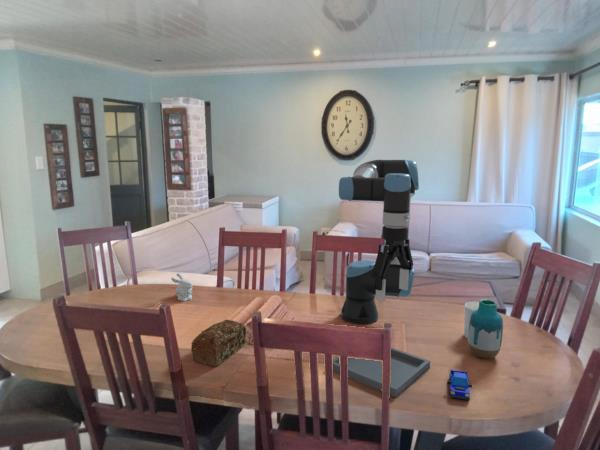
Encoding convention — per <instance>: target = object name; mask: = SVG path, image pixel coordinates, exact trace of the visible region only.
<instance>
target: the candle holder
mask: <svg viewBox="0 0 600 450" xmlns="http://www.w3.org/2000/svg"><path fill="white" fill-rule="evenodd" d="M478 307H479V301H467V302H466V303H464V321H463V322H464V324H463V325H464V326H463V328H464V329H463V330H464V331H463V332H464V333H463V334H464V337H465V338H466V339H468V330H469V322H470V317H471V314H472V312H473V311H475V310H478Z"/></svg>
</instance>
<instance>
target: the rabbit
mask: <svg viewBox="0 0 600 450" xmlns="http://www.w3.org/2000/svg"><path fill="white" fill-rule="evenodd" d="M175 275H176V277H178V278H174V277H171V281H172V282H173V283H175V284H177V287H176V288H175V295H176V297H177V300H178V301H182V302H187V301H191V300H192V299H193V295H192V294H193V285H194V284H193V283H192V282H191V281H190V280H188V279H184V277H183V275H181V273H176V274H175Z"/></svg>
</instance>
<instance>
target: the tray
mask: <svg viewBox="0 0 600 450" xmlns="http://www.w3.org/2000/svg"><path fill="white" fill-rule="evenodd" d="M332 360H333V371H332V372H334V373H337V374H339V375H341V374H340V364H339V357H338V356H337V357H335V358H333V359H332ZM430 369H431V360H430V359H426V358H423V357H420V356H417V355H414V354H412V353H408V352H406V351H403V350H400V349H397V348H394V347H391V383H390V395H389V396H392V397H393V398H397V397H399V396H400V395H401V394H402V393H404V391H406V390H407V389H408V388H409V387H410V386H411V385H413V384H414V383H415V382H416V381H417V380H418V379H420V378H421V377H422V376H423V375H424V374H425V373H427V371H428V370H430ZM348 376H349V377H348V378H349V379H351V380H353V381H357V382H358V383H360V384H363V385H366V386H368V387H370V388H372V389H374V390H378V391H379V392H382V391H381V389H382V362H381V361H374V360H365V359H355V358H348Z"/></svg>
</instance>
